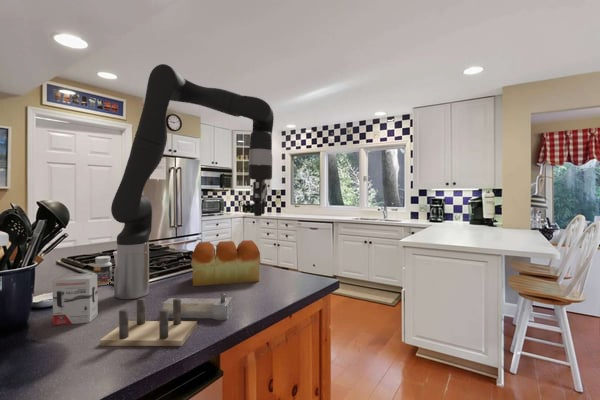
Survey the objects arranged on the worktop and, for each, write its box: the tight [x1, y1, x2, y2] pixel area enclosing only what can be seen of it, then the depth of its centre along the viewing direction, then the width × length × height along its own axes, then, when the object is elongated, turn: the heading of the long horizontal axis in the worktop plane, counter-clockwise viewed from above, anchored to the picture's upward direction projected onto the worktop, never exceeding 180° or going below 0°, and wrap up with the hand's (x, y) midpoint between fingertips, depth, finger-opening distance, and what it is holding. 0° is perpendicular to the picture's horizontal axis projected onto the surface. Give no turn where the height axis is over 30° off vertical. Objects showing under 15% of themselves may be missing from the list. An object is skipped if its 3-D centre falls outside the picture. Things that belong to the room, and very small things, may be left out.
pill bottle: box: [93, 255, 113, 287], centre depth 111 cm, size 6×6×10 cm
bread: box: [190, 239, 261, 287], centre depth 118 cm, size 25×12×15 cm, turn 105°
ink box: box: [51, 272, 99, 326], centre depth 79 cm, size 8×5×12 cm, turn 103°
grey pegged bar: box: [162, 292, 233, 321], centre depth 83 cm, size 18×6×6 cm, turn 90°
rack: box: [99, 297, 198, 347], centre depth 71 cm, size 18×10×7 cm, turn 90°
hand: (259, 214), depth 97 cm, fingers open, 8 cm apart
